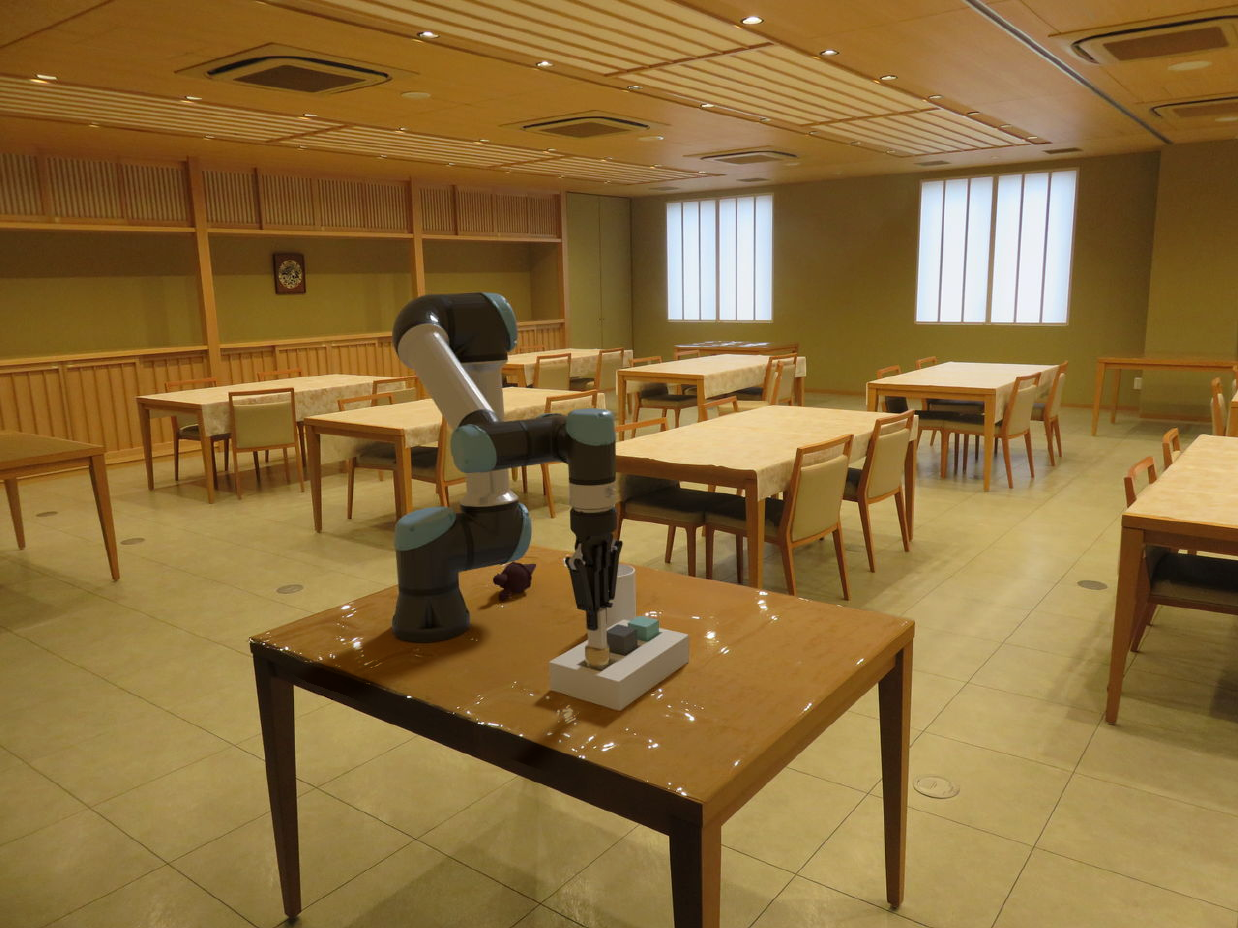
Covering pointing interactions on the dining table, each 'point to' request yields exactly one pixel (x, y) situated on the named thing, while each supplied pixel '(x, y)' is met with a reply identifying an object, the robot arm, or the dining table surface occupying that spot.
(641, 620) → the teal cube
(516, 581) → the dark purple knobbly piece
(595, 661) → the gold metal cylinder
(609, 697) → the white slotted tray
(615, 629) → the dark grey cube
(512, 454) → the robot arm
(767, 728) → the dining table surface
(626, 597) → the mug
